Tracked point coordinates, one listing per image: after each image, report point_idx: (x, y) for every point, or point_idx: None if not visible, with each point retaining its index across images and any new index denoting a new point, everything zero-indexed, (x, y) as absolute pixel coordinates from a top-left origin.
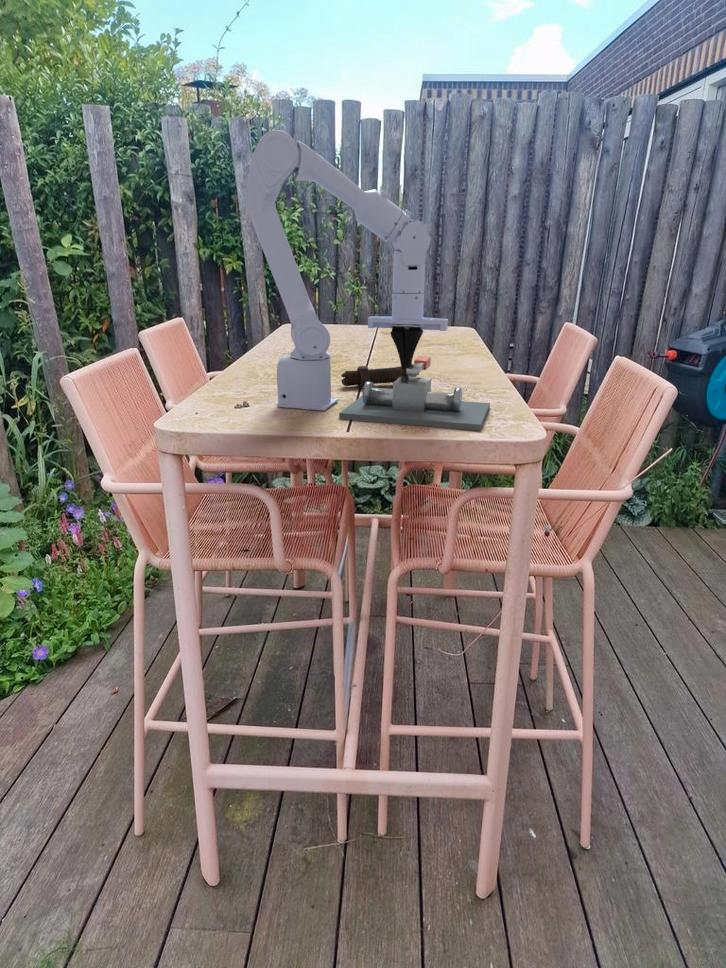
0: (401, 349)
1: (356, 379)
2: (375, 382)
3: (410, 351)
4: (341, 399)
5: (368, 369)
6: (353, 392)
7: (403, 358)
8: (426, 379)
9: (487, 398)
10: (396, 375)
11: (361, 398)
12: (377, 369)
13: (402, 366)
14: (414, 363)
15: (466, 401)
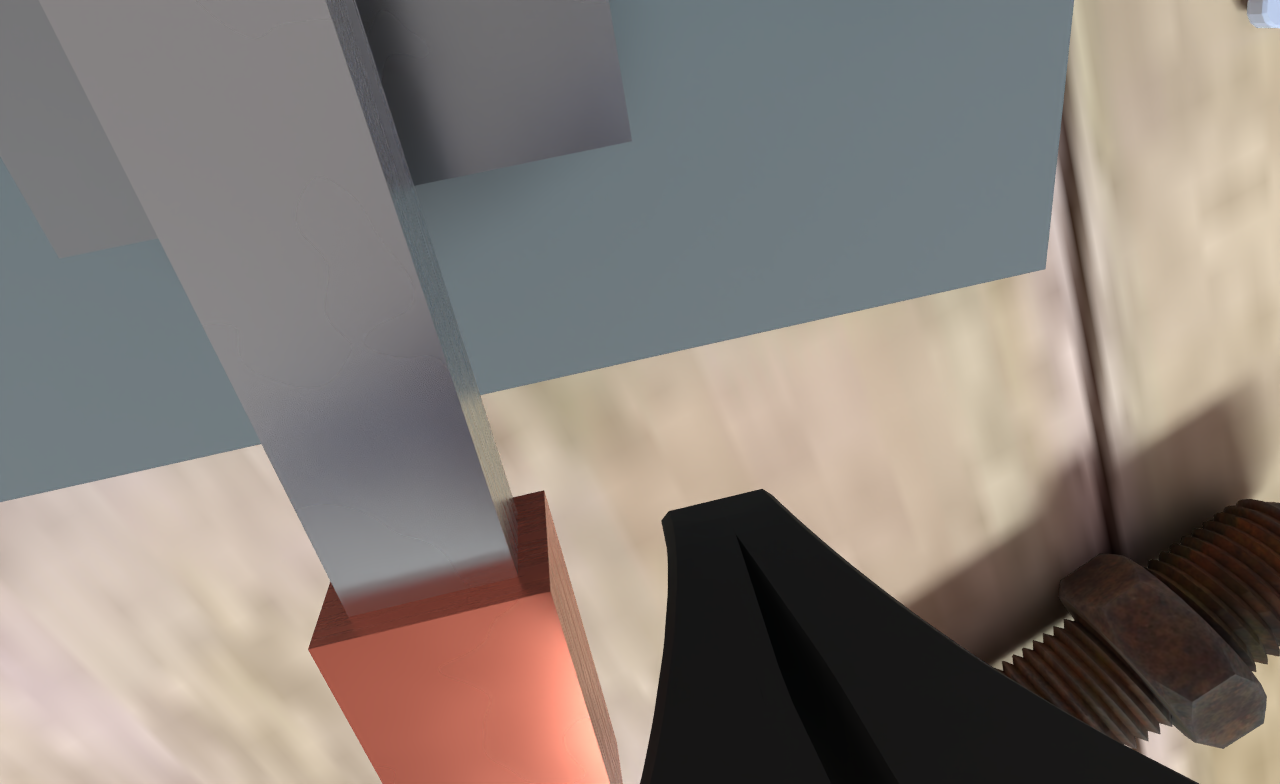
0: (912, 711)
1: (1198, 570)
2: (1034, 648)
3: (679, 739)
4: (1213, 136)
5: (1168, 701)
6: (1143, 411)
7: (787, 587)
8: (61, 116)
9: (103, 762)
10: None
11: (1036, 65)
12: None
13: (763, 510)
14: (475, 462)
15: (16, 496)
